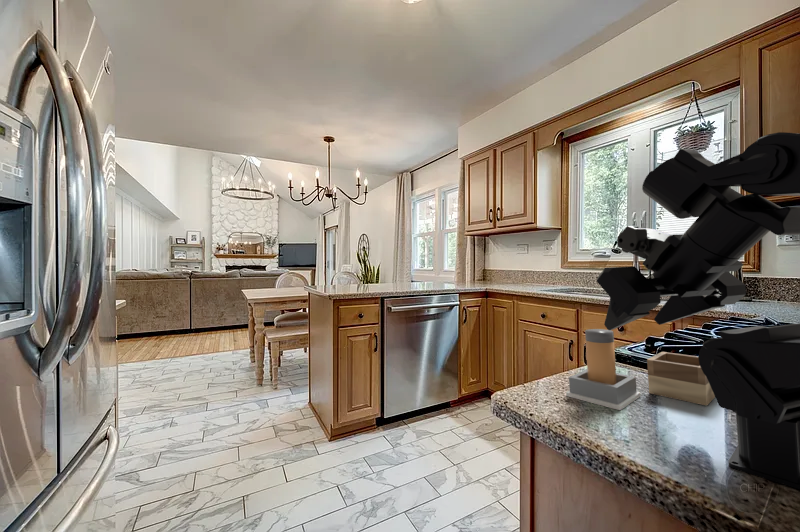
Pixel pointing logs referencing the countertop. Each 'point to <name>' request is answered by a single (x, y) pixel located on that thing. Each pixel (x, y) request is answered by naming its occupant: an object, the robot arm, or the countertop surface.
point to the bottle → (600, 356)
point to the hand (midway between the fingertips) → (632, 324)
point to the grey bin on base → (604, 390)
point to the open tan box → (678, 378)
